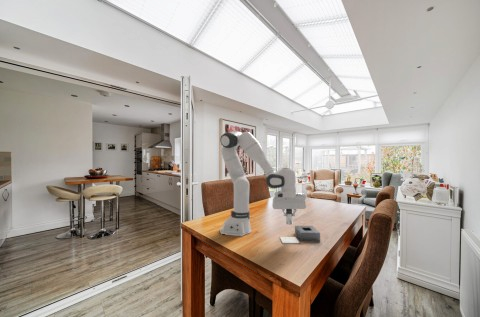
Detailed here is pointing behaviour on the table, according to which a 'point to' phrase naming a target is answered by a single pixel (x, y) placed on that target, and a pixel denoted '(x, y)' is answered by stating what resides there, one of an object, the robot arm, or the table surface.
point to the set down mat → (289, 240)
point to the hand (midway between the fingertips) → (289, 215)
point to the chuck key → (289, 216)
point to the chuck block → (307, 233)
